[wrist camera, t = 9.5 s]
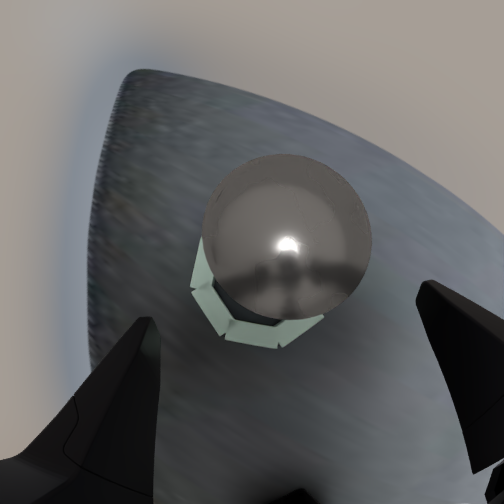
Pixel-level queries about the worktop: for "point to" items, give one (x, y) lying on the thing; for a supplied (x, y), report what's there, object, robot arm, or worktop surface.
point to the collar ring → (237, 328)
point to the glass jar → (286, 237)
